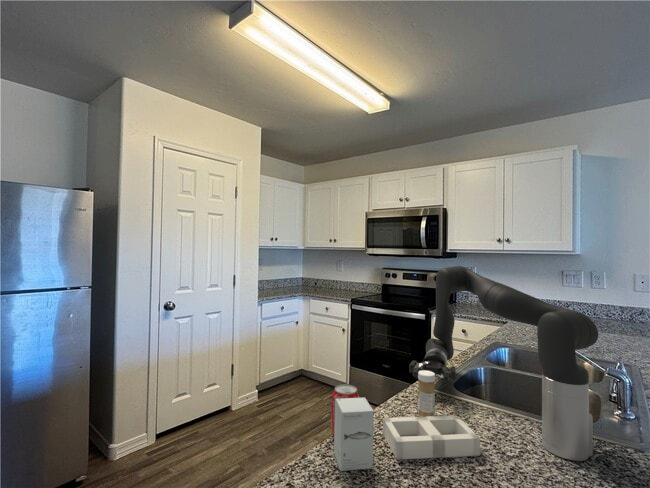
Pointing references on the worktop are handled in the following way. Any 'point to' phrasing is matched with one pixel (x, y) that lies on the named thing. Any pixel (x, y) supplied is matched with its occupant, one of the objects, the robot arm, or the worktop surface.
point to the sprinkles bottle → (426, 393)
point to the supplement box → (353, 434)
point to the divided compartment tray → (430, 437)
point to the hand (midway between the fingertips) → (430, 377)
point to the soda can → (341, 393)
